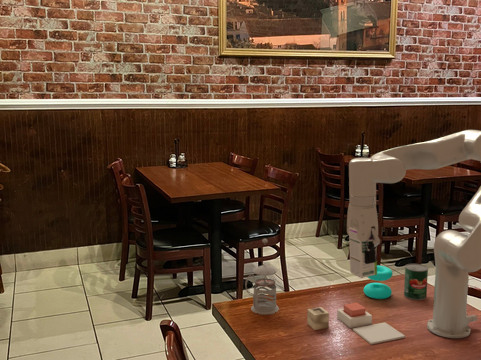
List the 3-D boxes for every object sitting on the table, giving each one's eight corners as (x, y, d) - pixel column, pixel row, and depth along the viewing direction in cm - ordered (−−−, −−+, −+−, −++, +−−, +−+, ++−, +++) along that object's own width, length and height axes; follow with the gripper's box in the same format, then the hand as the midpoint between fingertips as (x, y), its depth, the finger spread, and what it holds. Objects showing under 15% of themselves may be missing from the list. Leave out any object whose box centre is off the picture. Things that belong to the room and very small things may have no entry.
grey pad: (385, 324, 168) (385, 322, 168) (404, 337, 159) (404, 335, 159) (352, 330, 164) (352, 328, 164) (371, 344, 155) (371, 342, 155)
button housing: (357, 314, 176) (358, 305, 175) (371, 324, 168) (372, 315, 168) (337, 318, 173) (337, 309, 172) (350, 328, 165) (350, 319, 165)
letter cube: (321, 321, 171) (321, 306, 170) (328, 327, 166) (328, 312, 165) (307, 323, 169) (307, 308, 168) (314, 330, 164) (314, 314, 164)
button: (356, 311, 173) (356, 302, 173) (365, 317, 169) (365, 308, 168) (343, 313, 172) (343, 304, 171) (351, 319, 167) (352, 310, 166)
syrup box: (361, 278, 153) (360, 230, 150) (349, 272, 158) (348, 226, 155) (377, 274, 155) (377, 227, 152) (365, 269, 160) (364, 223, 158)
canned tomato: (414, 290, 196) (415, 262, 194) (431, 297, 189) (433, 268, 187) (399, 294, 192) (400, 265, 190) (416, 301, 185) (417, 272, 183)
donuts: (369, 262, 197) (396, 267, 192) (368, 287, 199) (394, 292, 194) (360, 270, 189) (388, 275, 184) (359, 296, 190) (386, 302, 185)
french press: (281, 314, 176) (281, 242, 172) (246, 315, 176) (246, 243, 171) (277, 302, 186) (277, 234, 182) (244, 303, 185) (244, 235, 181)
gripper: (336, 196, 159) (337, 253, 162) (368, 208, 143) (369, 270, 146) (357, 193, 162) (358, 249, 165) (391, 204, 146) (391, 266, 149)
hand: (363, 259), depth 156 cm, fingers closed on syrup box, 5 cm apart
